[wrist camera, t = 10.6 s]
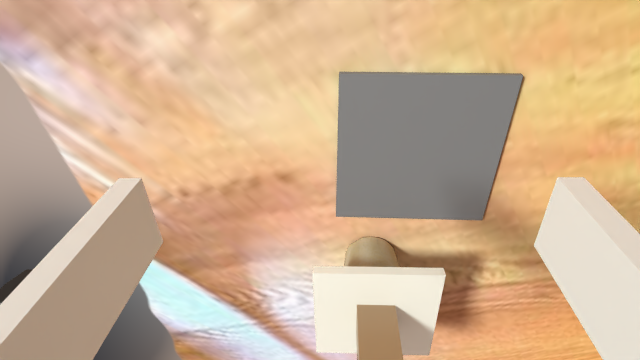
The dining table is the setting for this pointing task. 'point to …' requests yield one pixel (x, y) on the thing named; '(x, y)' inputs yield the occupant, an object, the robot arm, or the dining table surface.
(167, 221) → the dining table surface
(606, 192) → the dining table surface
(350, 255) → the flower pot
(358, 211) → the mat
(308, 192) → the dining table surface
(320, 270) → the lid
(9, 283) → the robot arm
